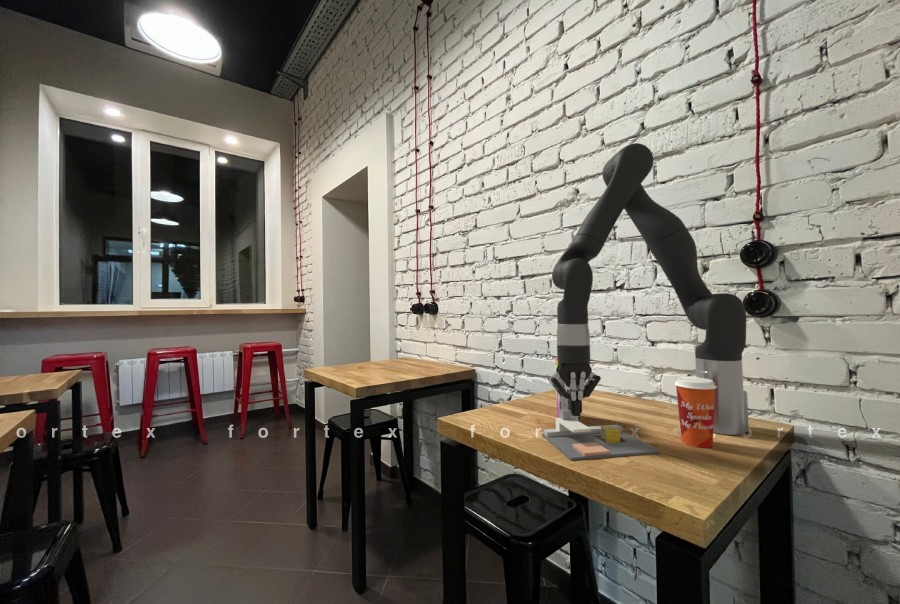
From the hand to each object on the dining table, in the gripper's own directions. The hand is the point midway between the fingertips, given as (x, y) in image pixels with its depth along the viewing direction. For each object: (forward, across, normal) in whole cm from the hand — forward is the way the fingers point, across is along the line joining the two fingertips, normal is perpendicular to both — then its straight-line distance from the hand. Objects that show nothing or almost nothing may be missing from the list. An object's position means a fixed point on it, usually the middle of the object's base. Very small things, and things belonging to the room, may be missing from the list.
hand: (575, 415), depth 85 cm
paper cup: (+5, -23, +10) cm, 26 cm away
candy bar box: (+5, -3, -11) cm, 13 cm away
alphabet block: (+5, -6, +5) cm, 9 cm away
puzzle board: (+5, -2, +6) cm, 8 cm away
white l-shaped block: (+3, +3, +3) cm, 5 cm away
